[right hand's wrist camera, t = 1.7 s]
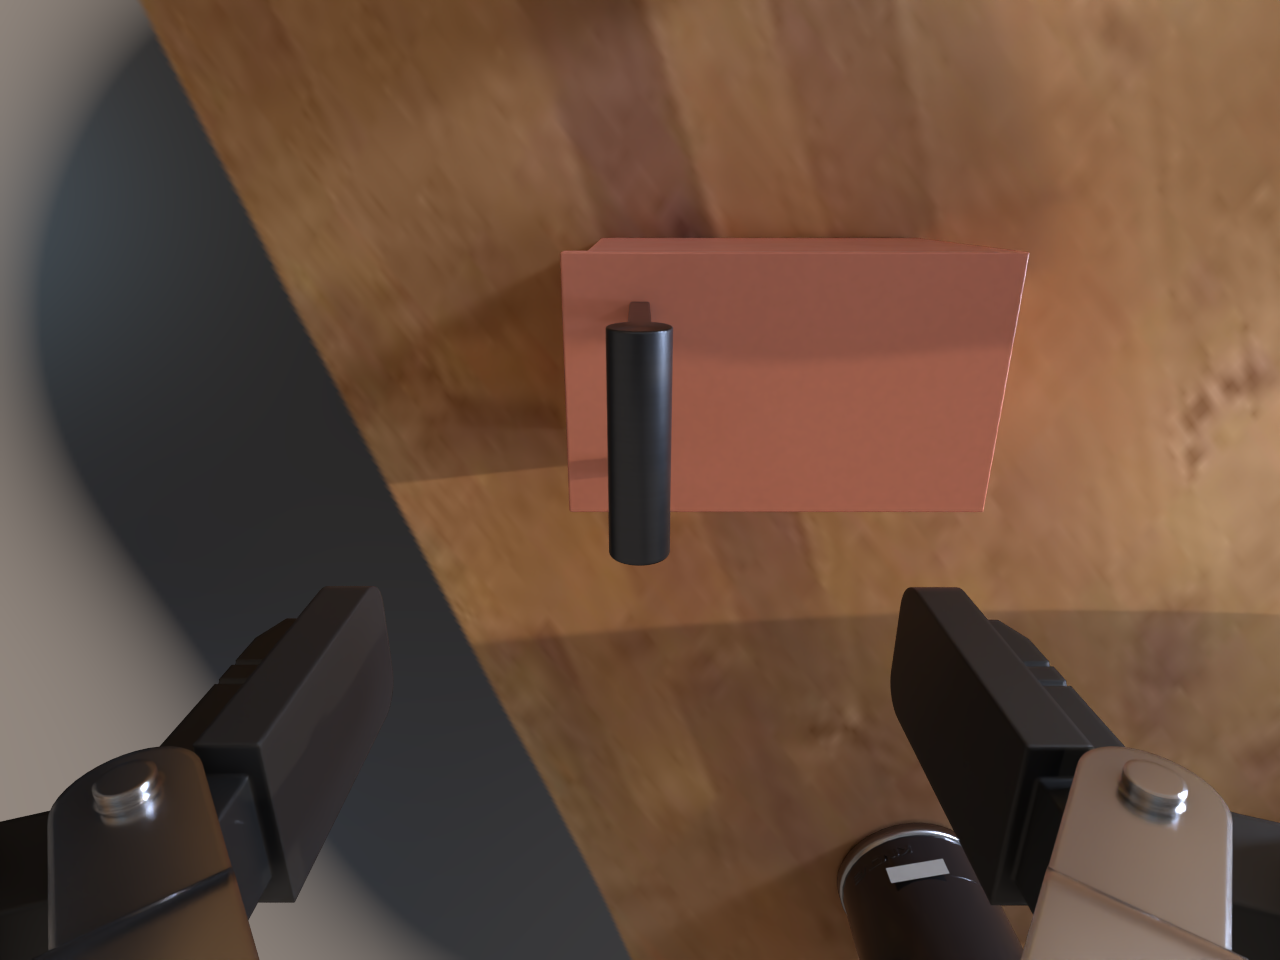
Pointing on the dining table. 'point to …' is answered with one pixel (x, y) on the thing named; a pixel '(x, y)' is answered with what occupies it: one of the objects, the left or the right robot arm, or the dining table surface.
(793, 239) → the chest
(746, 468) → the lid
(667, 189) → the dining table surface
